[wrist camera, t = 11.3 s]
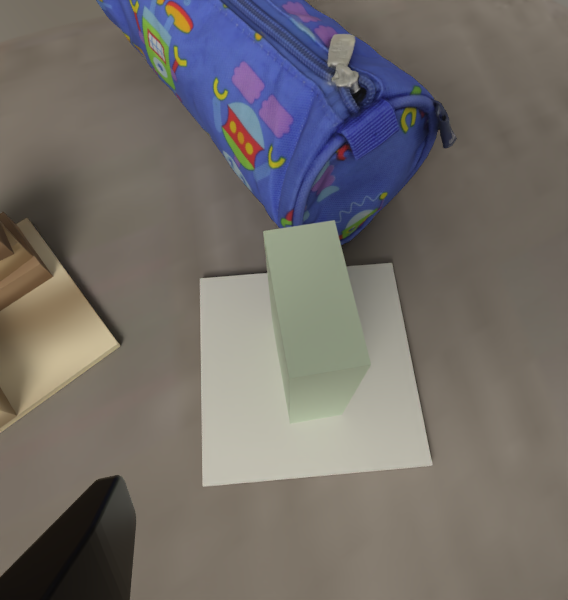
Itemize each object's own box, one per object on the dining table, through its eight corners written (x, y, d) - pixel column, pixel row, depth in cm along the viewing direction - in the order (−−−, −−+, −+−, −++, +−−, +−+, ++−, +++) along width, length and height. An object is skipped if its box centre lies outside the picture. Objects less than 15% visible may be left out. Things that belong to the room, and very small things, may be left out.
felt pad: (430, 465, 21) (432, 465, 20) (204, 486, 20) (202, 486, 20) (390, 266, 25) (391, 262, 24) (201, 281, 24) (199, 278, 24)
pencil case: (427, 211, 26) (497, 64, 17) (305, 293, 24) (314, 174, 15) (217, 3, 33) (190, -174, 25) (110, 54, 32) (40, -119, 23)
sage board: (342, 414, 21) (370, 364, 13) (289, 423, 21) (289, 378, 13) (319, 314, 23) (334, 220, 15) (272, 321, 23) (263, 231, 15)
